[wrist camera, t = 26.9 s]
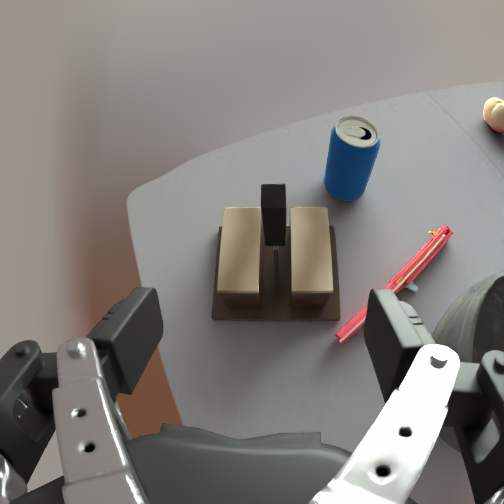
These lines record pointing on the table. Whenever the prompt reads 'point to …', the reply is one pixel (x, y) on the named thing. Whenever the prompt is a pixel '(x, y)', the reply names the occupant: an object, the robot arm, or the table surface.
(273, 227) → the black block with pin
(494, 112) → the fruit
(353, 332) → the pink plastic rod
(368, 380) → the table surface
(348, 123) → the beverage can
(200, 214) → the table surface
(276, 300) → the slotted block
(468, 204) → the table surface
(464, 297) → the bowl
